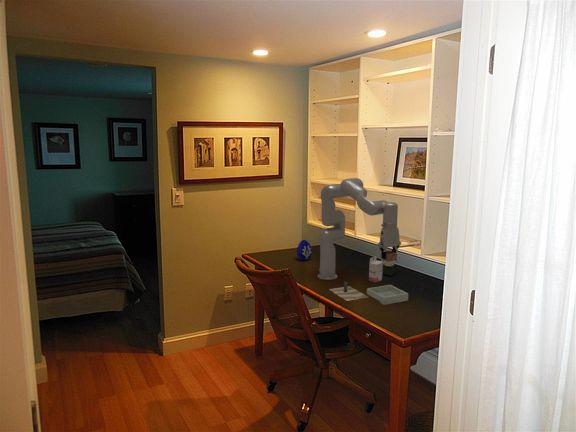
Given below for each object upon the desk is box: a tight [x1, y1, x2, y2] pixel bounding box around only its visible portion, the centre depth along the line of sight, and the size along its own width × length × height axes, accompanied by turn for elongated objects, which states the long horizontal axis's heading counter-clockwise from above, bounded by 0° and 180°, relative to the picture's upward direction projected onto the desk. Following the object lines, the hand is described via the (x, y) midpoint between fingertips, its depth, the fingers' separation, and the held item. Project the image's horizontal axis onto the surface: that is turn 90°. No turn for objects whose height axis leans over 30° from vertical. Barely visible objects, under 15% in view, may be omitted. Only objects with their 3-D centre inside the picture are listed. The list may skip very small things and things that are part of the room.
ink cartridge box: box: [368, 255, 384, 283], centre depth 278 cm, size 9×5×15 cm, turn 141°
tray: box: [366, 284, 409, 306], centre depth 249 cm, size 16×16×4 cm
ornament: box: [296, 239, 313, 261], centre depth 324 cm, size 11×9×15 cm
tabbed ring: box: [380, 250, 398, 262], centre depth 246 cm, size 6×8×4 cm
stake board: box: [329, 281, 369, 302], centre depth 254 cm, size 20×14×6 cm
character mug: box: [380, 258, 398, 276], centre depth 289 cm, size 11×7×13 cm, turn 107°
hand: (388, 257), depth 245 cm, fingers closed on tabbed ring, 5 cm apart
